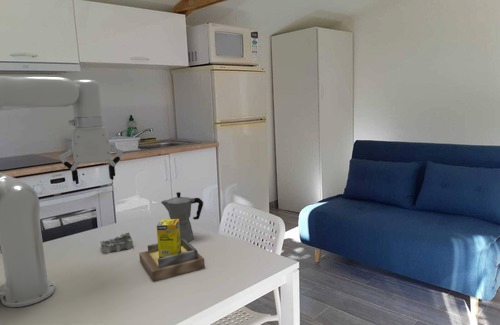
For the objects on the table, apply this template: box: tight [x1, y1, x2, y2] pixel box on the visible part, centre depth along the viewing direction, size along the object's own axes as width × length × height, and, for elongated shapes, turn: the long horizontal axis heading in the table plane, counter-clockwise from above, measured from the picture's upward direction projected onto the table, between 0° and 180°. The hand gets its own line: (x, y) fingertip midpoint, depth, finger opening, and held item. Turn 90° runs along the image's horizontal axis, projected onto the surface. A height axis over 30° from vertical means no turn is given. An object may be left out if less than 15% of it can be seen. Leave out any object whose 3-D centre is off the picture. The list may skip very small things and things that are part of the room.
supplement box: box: [156, 218, 181, 258], centre depth 116 cm, size 6×6×11 cm
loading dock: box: [138, 238, 206, 282], centre depth 118 cm, size 16×16×6 cm
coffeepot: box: [160, 191, 204, 243], centre depth 138 cm, size 15×9×18 cm, turn 92°
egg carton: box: [99, 232, 134, 254], centre depth 133 cm, size 11×8×4 cm
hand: (94, 181), depth 111 cm, fingers open, 9 cm apart
